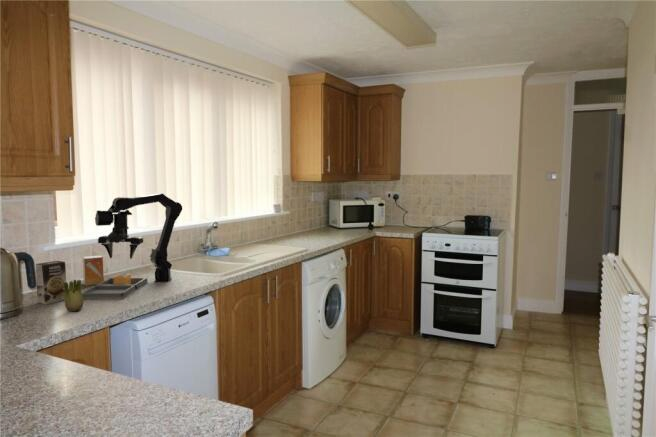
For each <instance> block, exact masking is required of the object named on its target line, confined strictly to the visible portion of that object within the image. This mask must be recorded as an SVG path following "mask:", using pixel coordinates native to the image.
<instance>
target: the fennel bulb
mask: <svg viewBox="0 0 656 437" xmlns="http://www.w3.org/2000/svg"><path fill="white" fill-rule="evenodd" d="M81 288H82V280H81V279H73V280H70V281H69V282H68V281H66V282H64V289H65V300H64V305H65V309H66V311H67V312H79V311H81V309H82V308H83V306H84V299H83V297H82V293H81V292H82V289H81Z"/></svg>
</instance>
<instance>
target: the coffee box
mask: <svg viewBox="0 0 656 437" xmlns="http://www.w3.org/2000/svg"><path fill="white" fill-rule="evenodd" d="M66 271H67V270H66V262H65V261H60V260H55V261H53V260H52V261H48V262H41V263H35V275H36V276H35V278H36V280H35V281H36V298H37V299H36V300H37V303H39V304H42V305H48V304H49V305H50V304H53V303H57V302H61V301H65V289H64V282H67V272H66Z"/></svg>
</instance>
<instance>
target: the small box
mask: <svg viewBox="0 0 656 437" xmlns="http://www.w3.org/2000/svg"><path fill="white" fill-rule="evenodd" d="M82 272H83V273H82V274H83V284H84V286H86V287H87V286H96V285H97V284H99V283H101V282H103V281H105V280H104V277H105V276H104V257H103V256H102V255H89V256H82Z"/></svg>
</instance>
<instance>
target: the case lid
mask: <svg viewBox="0 0 656 437" xmlns="http://www.w3.org/2000/svg"><path fill="white" fill-rule="evenodd" d="M136 291H137V290H136V285H97V286H96V285H92V286H91V287H89V288H87V289H86V290H84V291H81V293H82V297H83V300H124V299H125V298H127V297H129V296H130V295H131V294H133V293H134V292H136Z"/></svg>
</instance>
